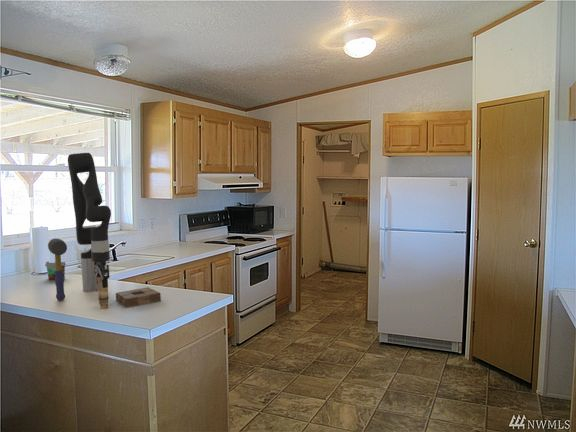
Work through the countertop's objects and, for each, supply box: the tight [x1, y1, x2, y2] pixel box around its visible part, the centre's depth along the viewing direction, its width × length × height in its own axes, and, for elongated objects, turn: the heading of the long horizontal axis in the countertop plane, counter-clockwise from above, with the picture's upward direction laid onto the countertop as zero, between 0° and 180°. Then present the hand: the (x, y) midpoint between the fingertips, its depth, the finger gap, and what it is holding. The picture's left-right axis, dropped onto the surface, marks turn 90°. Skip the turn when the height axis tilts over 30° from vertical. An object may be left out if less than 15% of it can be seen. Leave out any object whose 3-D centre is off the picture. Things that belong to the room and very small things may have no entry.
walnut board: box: [115, 287, 162, 309], centre depth 223 cm, size 15×16×4 cm
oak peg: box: [97, 277, 110, 310], centre depth 212 cm, size 4×4×14 cm
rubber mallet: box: [47, 238, 68, 302], centre depth 226 cm, size 12×8×30 cm, turn 34°
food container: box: [45, 260, 67, 281], centre depth 275 cm, size 12×6×10 cm, turn 76°
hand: (102, 285), depth 212 cm, fingers open, 8 cm apart
